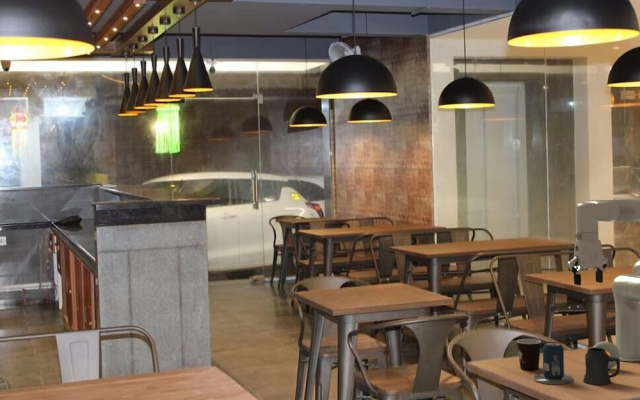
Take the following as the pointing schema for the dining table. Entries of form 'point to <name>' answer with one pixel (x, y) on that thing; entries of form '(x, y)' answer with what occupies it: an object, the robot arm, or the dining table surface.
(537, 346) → the coffee mug
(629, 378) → the dining table surface
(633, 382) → the dining table surface
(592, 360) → the mug
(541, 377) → the slate coaster
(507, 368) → the dining table surface
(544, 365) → the soda can
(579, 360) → the dining table surface
